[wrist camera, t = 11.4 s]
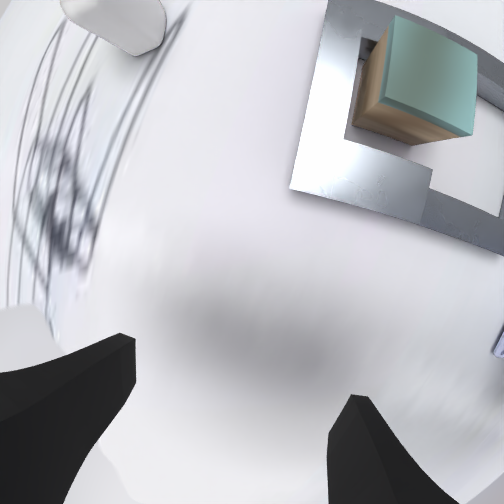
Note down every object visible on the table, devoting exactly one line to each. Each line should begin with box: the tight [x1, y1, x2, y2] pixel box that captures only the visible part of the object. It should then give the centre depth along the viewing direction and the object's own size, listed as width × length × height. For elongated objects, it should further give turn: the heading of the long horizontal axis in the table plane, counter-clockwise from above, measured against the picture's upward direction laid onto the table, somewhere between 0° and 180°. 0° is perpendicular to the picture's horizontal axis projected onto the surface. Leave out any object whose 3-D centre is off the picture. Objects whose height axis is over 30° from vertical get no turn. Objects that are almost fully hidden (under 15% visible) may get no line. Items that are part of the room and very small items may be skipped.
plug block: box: [351, 15, 477, 146], centre depth 11 cm, size 4×4×7 cm
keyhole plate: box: [290, 0, 504, 256], centre depth 13 cm, size 16×12×3 cm
